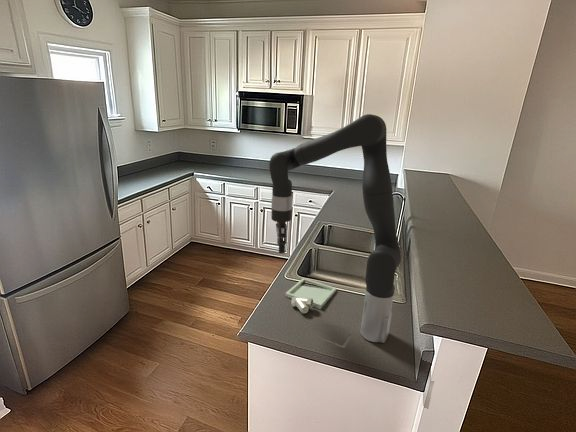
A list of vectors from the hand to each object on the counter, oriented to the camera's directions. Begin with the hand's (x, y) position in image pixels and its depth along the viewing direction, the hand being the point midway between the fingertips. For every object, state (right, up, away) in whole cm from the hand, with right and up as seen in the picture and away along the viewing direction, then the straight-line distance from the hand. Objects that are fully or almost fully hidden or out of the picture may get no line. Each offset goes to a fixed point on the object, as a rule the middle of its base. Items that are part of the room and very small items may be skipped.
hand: (280, 248), depth 128 cm
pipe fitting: (+7, -24, 0) cm, 25 cm away
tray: (+12, -21, +15) cm, 28 cm away
